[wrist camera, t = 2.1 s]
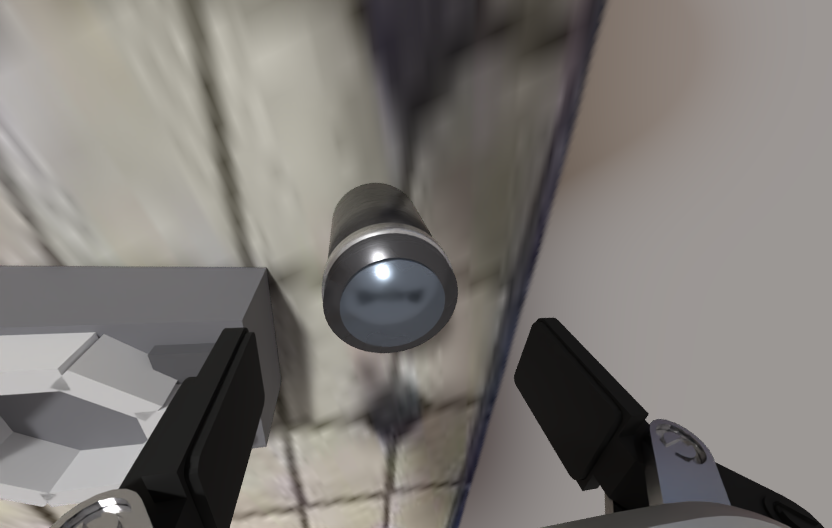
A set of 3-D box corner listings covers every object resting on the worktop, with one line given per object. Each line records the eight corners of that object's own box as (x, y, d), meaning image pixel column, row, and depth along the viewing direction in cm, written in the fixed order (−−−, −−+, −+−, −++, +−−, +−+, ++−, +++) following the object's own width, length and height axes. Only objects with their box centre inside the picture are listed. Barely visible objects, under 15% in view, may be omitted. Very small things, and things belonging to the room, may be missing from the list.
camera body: (-63, 265, 15) (-338, 380, 9) (266, 267, 18) (227, 352, 12) (33, 399, 20) (-104, 533, 14) (281, 381, 23) (258, 481, 17)
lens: (329, 177, 17) (316, 240, 10) (424, 184, 18) (475, 244, 11) (331, 263, 19) (321, 363, 12) (413, 264, 20) (449, 355, 13)
